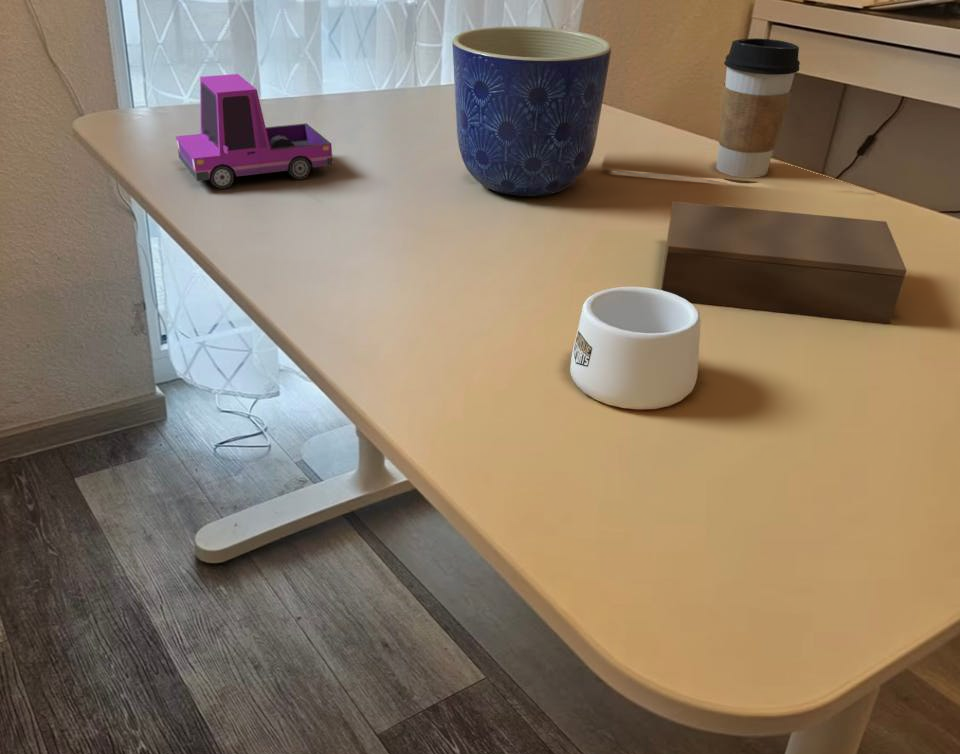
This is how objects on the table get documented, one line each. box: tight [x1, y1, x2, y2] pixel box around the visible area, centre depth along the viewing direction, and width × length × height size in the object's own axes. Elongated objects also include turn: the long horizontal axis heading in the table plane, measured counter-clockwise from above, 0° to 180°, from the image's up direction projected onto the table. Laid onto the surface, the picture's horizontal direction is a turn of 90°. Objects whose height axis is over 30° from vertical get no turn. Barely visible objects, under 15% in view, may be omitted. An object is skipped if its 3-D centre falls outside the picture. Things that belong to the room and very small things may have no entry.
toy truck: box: [175, 73, 334, 190], centre depth 108 cm, size 11×16×10 cm
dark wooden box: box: [660, 200, 907, 325], centre depth 88 cm, size 20×12×5 cm, turn 79°
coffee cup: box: [716, 37, 801, 184], centre depth 111 cm, size 8×8×15 cm
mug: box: [569, 286, 702, 410], centre depth 72 cm, size 12×10×6 cm
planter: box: [451, 25, 612, 197], centre depth 106 cm, size 17×17×15 cm
